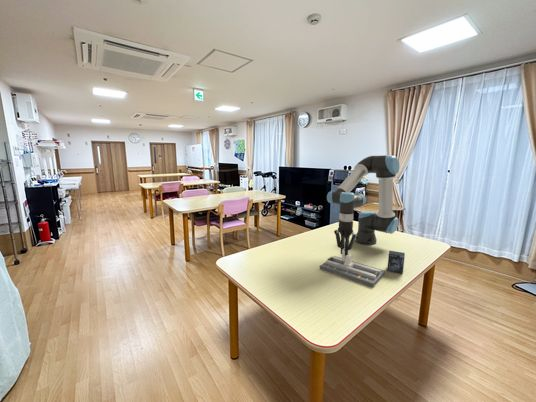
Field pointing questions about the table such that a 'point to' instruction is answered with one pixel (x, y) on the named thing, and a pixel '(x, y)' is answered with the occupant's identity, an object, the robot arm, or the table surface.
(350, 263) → the fader tab
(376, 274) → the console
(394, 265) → the box
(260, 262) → the table surface
